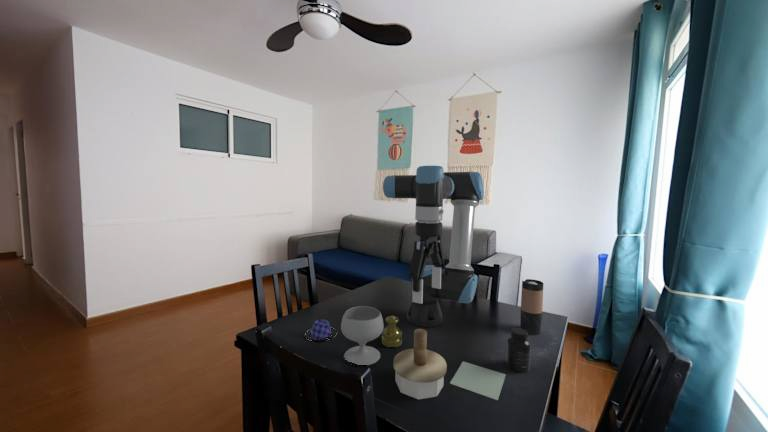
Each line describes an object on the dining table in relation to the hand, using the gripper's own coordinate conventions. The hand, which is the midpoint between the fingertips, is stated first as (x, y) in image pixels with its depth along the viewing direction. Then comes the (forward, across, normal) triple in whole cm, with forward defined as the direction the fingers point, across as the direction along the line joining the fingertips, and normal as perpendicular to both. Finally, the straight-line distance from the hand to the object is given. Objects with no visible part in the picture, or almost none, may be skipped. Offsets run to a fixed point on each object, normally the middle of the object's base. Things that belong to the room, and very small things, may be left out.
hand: (427, 294), depth 85 cm
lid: (+20, -4, 0) cm, 20 cm away
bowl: (+25, -4, 0) cm, 25 cm away
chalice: (+26, -1, +22) cm, 34 cm away
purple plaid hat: (+26, +3, +44) cm, 52 cm away
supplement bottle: (+26, +20, -22) cm, 40 cm away
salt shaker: (+26, +12, +18) cm, 34 cm away
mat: (+25, +7, -14) cm, 30 cm away
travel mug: (+26, +50, -23) cm, 61 cm away
